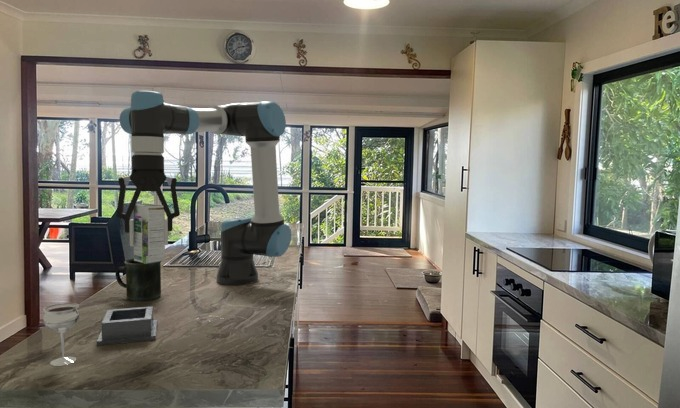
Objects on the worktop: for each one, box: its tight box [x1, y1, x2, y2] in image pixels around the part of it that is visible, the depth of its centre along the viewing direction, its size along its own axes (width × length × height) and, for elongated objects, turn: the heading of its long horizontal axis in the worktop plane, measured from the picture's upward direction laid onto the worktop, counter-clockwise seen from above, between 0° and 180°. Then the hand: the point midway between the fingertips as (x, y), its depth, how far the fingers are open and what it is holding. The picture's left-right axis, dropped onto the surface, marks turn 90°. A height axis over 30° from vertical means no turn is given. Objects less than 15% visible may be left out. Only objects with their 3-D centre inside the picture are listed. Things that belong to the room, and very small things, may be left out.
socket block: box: [96, 305, 158, 346], centre depth 121 cm, size 13×13×5 cm
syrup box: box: [133, 203, 166, 264], centre depth 120 cm, size 6×6×14 cm
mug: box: [115, 257, 162, 302], centre depth 153 cm, size 11×15×12 cm
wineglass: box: [43, 302, 80, 367], centre depth 103 cm, size 7×7×12 cm
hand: (149, 244), depth 121 cm, fingers closed on syrup box, 7 cm apart
